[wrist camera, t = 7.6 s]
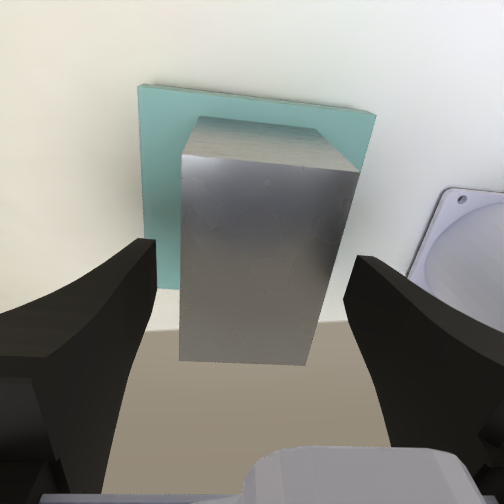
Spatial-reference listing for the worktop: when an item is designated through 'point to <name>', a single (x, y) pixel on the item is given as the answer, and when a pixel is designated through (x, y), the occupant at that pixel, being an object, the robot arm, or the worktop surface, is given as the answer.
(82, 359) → the robot arm
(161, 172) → the stand
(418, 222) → the worktop surface
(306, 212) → the block
